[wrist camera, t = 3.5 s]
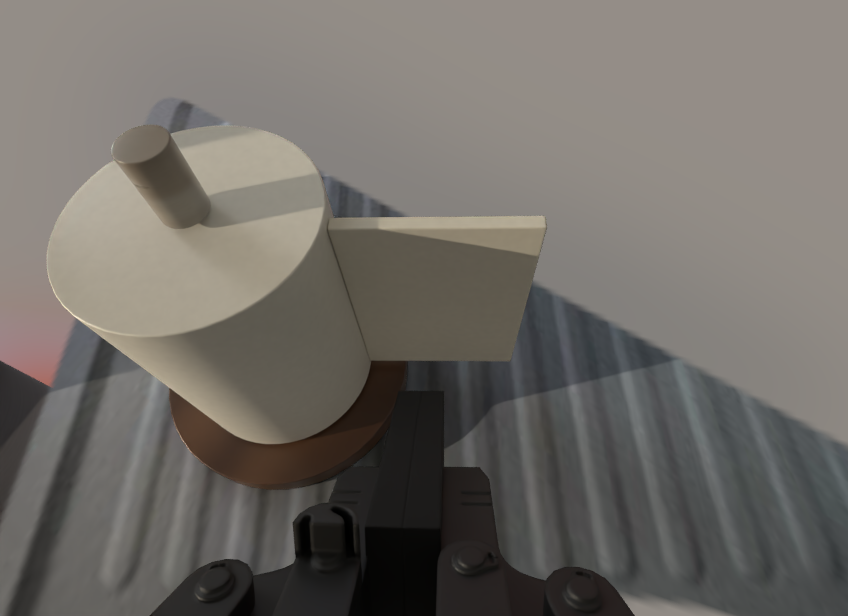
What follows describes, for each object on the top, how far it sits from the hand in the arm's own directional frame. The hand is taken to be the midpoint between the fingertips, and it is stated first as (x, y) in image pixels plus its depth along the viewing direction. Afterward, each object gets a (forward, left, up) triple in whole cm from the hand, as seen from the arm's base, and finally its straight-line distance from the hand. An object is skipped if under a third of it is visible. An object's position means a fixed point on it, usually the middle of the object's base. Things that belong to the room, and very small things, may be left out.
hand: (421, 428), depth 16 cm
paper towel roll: (-6, +4, -10) cm, 12 cm away
